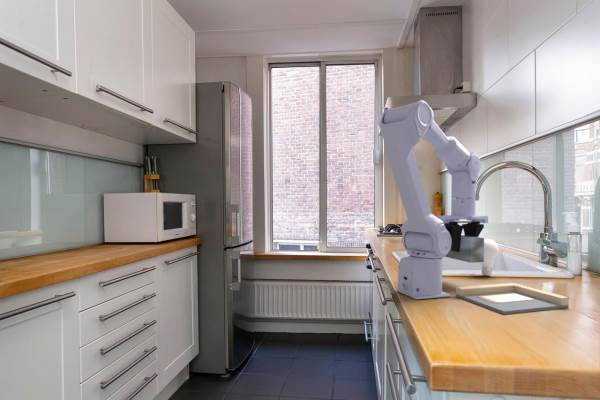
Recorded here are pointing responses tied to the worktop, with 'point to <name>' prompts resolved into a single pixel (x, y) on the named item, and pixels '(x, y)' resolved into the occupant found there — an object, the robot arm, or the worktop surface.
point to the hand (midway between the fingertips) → (462, 251)
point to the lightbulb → (489, 256)
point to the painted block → (469, 250)
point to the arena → (511, 298)
